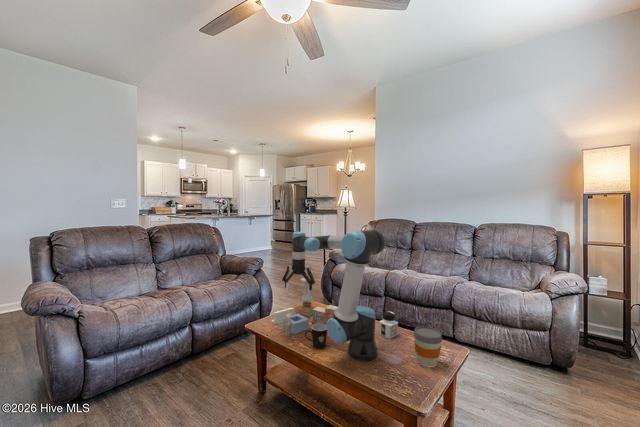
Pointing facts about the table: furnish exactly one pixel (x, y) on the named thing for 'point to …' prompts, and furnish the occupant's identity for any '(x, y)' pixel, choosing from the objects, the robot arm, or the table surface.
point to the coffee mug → (318, 335)
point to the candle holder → (306, 302)
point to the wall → (281, 315)
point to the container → (388, 325)
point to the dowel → (288, 324)
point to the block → (297, 323)
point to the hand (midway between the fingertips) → (298, 294)
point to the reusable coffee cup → (427, 345)
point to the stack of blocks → (322, 314)
